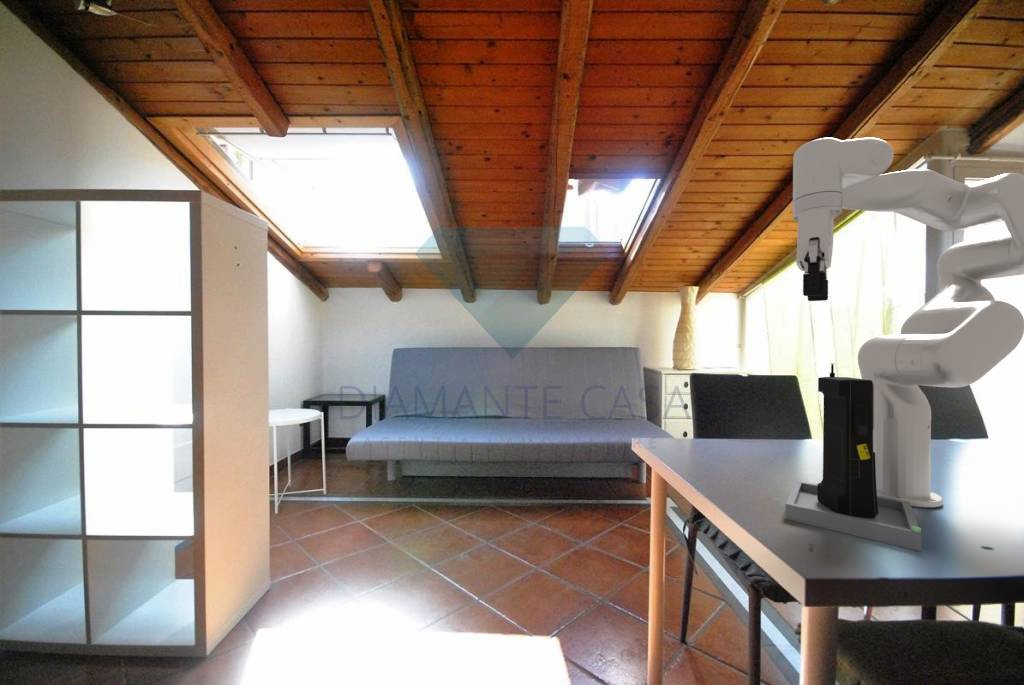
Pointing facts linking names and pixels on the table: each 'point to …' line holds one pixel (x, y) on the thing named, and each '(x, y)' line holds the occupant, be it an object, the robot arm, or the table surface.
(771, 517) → the table surface
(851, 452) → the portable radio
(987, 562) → the table surface
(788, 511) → the tray
